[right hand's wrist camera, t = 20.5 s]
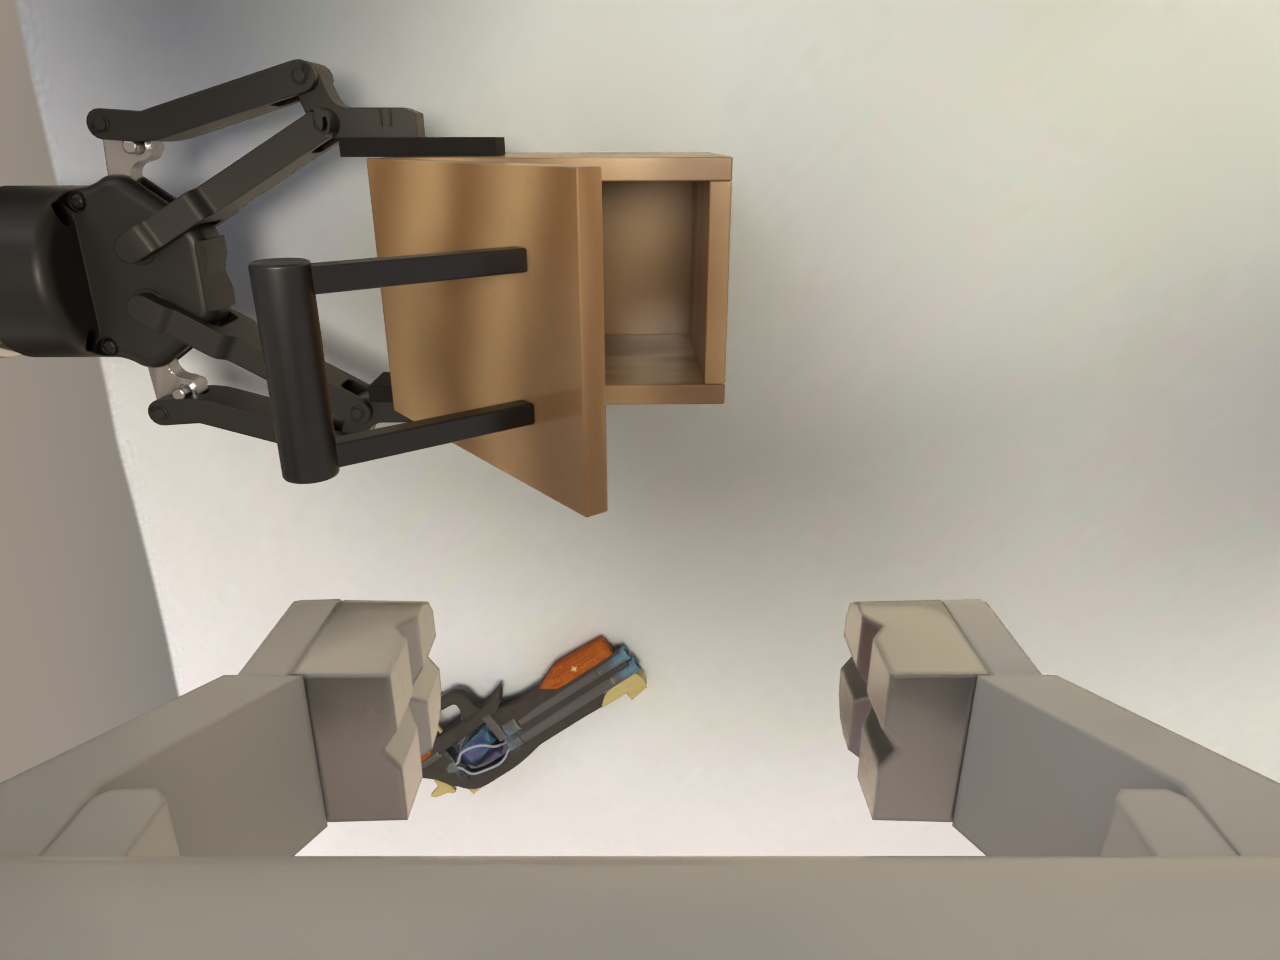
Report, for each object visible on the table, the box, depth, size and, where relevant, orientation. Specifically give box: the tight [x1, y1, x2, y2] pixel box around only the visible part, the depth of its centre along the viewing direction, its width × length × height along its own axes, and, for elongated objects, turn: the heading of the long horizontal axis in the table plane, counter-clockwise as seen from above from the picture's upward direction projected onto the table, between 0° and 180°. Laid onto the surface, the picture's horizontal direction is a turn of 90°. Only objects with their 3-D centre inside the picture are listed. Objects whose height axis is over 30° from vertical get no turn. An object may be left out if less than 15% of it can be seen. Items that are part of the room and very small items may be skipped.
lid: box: [248, 158, 607, 517], centre depth 28 cm, size 14×10×8 cm
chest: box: [386, 152, 733, 404], centre depth 41 cm, size 14×10×11 cm
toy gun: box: [421, 637, 646, 797], centre depth 55 cm, size 3×19×10 cm
